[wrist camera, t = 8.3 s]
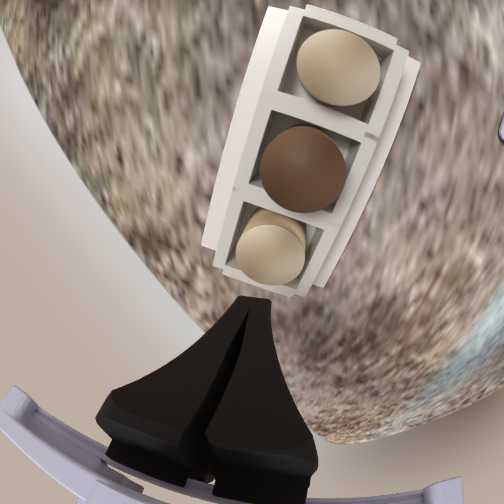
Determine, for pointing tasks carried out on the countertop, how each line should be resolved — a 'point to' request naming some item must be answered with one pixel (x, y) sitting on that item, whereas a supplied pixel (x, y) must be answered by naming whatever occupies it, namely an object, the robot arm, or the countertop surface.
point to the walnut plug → (303, 169)
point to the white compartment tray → (312, 113)
